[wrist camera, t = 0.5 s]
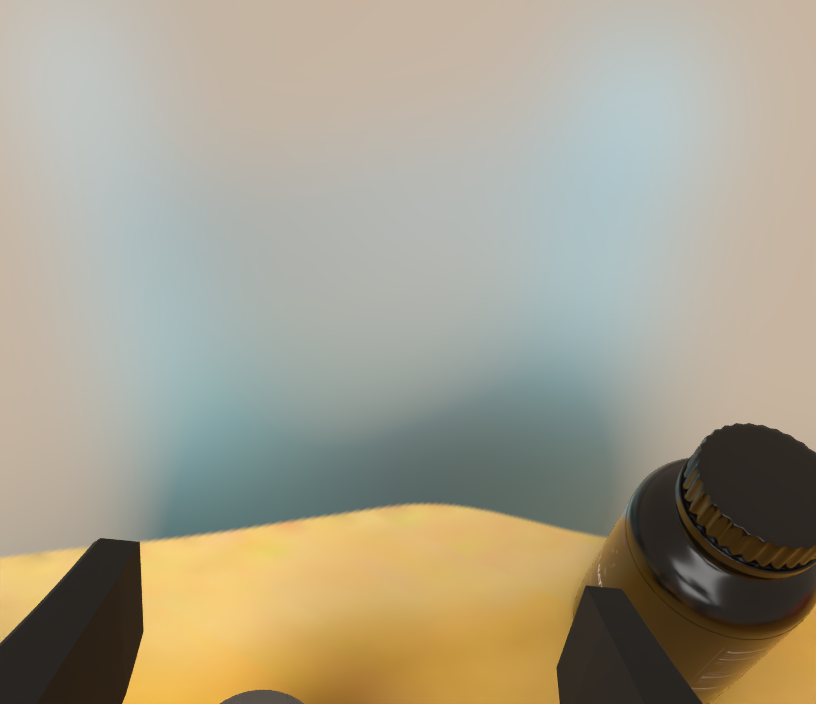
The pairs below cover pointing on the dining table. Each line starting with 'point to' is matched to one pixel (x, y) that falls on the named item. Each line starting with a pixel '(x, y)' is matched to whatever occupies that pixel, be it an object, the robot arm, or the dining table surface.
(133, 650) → the robot arm
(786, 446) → the supplement bottle
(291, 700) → the cylinder
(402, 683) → the dining table surface
